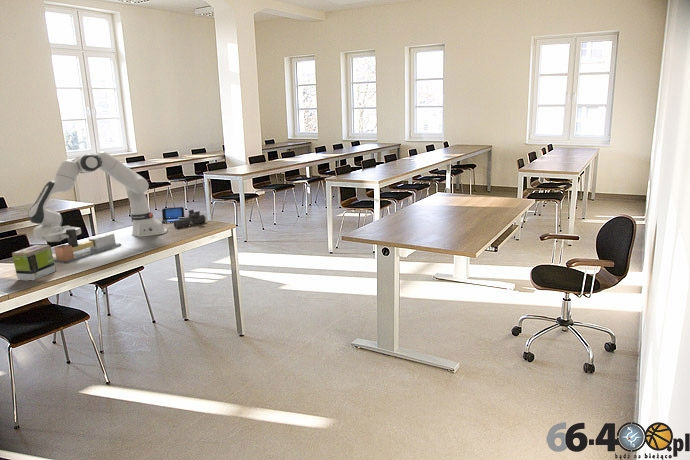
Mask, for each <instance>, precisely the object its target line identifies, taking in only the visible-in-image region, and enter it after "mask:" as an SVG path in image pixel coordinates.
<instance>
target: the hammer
mask: <svg viewBox="0 0 690 460" xmlns="http://www.w3.org/2000/svg"><path fill="white" fill-rule="evenodd" d="M66 234H69V235H70V238H66V239H67V243H68V244H67V245H72V249H73V253H74V252H78V251H81V250H84V249H87V248H90V247H93V246H95V242H94V240H91V241H89V240H88V241H85V242H82V243H79V242H78V238H77V236H78V235H77V236H76V231H75V229H67V230H66Z"/></svg>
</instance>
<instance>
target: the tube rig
mask: <svg viewBox="0 0 690 460" xmlns="http://www.w3.org/2000/svg"><path fill="white" fill-rule="evenodd" d="M91 240H94V242H95V246H93V247H90V248H86V249H83V250H80V251H77V252H73V249H72V245H68V244H62V245H61V244H60V245H57V246H54V252H55V258H53V260H54V263H61V264H62V263H63V264H69V263H72V262H75V261H78V260H81V259H85V258H87V257H90V256H91V257H92V256H94V255H97V254H99V253H102V252H106V251H108V250H112V249H114V248H117V247H121V246H122V243H121V242H120V243H118V242H116V239H115V233H112V232H106V233H103V234H100V235H95V236H94V237H93V236H92V237H90V238H88V241H91Z"/></svg>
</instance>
